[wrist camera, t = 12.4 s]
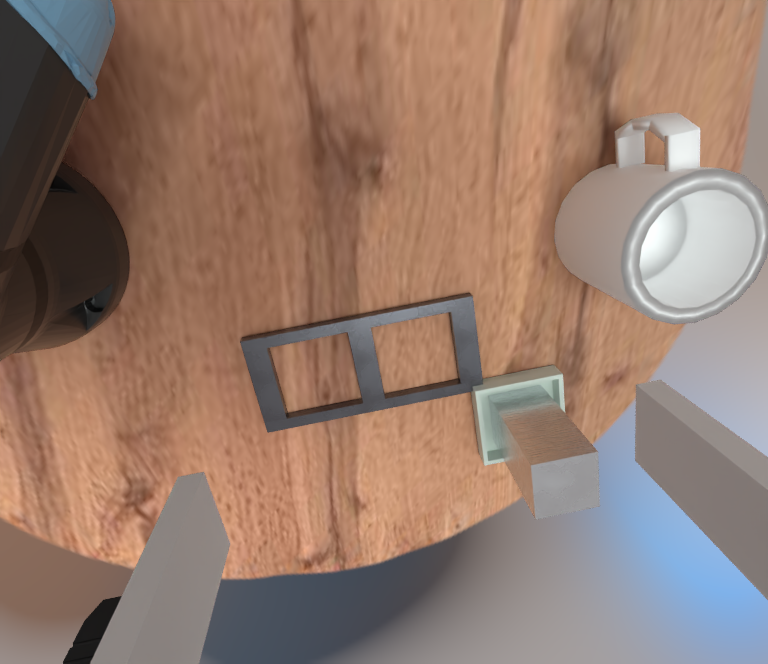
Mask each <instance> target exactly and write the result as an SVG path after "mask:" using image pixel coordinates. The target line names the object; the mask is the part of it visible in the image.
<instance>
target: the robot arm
mask: <svg viewBox="0 0 768 664" xmlns="http://www.w3.org/2000/svg"><path fill="white" fill-rule="evenodd" d="M114 30H115V12H114V8H113V4H112V2H111V0H0V361H1V360H3V359H4V358H6V357H7V356H9V355H10V354H12V353H20V352H27V351H35V350H42V349H49V348H54V347H58V346H61V345H64V344H67V343H69V342H72V341H74V340H76V339H78V338H80V337H82V336H84V335H85V334H87V333H88V332H90V331H91V330H92V329H94V328H95V327H97V326H98V325H99V324H101V323H102V322H103V321H104V320H105V319H106V318H107V317H108V316H109V315H110V314H111V313H112V312H113V311H114V309H115V308H116V307H117V305H118V303H119V302H120V300H121V298H122V296H123V293H124V291H125V288H126V284H127V280H128V274H129V255H128V248H127V243H126V239H125V236H124V233H123V230H122V228H121V225H120V223H119V221H118V219H117V217H116V215H115V213H114V212H113V210H112V208H111V207H110V205H109V204H108V203H107V201H106V200H105V199H104V197H103V196H102V195H101V194H100V193H99V191H98V190H97V189H96V188H95V187H94V186H93V185H92V184H91V183H90V182H88V181H87V180H86V179H85V178H84V177H83V176H81V175H80V174H79V173H77V172H76V171H75V170H73V169H72V168H70V167H68V166H67V165H65V164H63V163H62V162H61V161H62V159H63V157H64V154H65V152H66V150H67V147H68V145H69V143H70V140H71V138H72V136H73V133H74V131H75V129H76V126H77V124H78V122H79V119H80V117H81V115H82V112H83V110H84V108H85V105H86V103H87V101H88V99H89V98H90V99H92V100H94V99H95V97H96V94H97V90H98V89H97V86H96V84H95V83H96V80H97V77H98V74H99V72H100V69H101V66H102V64H103V61H104V58H105V56H106V53H107V50H108V48H109V45H110V42H111V39H112V37H113V34H114ZM635 438H636V439H635V461H636V462H637V463H638V464H639V465H640V466H641V467H642V468H643V469H644V470H645V471H646V472H647V473H648V474H649V476H650V477H651V478H652V479H653V480H654V481H655V482H656V483H657V484H658V485H659V486H660V487H661V488H662V489H663V490H664V491H665V492H666V493H667V494H668V495H669V496H670V498H671V499H672V500H673V501H674V502H675V503H676V504H677V505H678V506H679V507H680V508H681V509H682V510H683V511H684V512H685V513H686V514H687V515H688V516H689V518H690V519H691V520H692V521H693V522H694V523H695V524H696V525H697V526H698V527H699V528H700V529H701V530H702V531H703V532H704V533H705V534H706V535H707V536H708V538H710V540H711V541H712V542H713V543H714V544H715V545H716V546H717V547H718V548H719V549H720V550H721V551H722V552H723V553H724V554H725V555H726V557H728V559H729V560H730V561H731V562H732V563H733V564H734V565H735V566H736V567H737V568H738V569H739V570H740V571H741V572H742V573H743V574H744V575H745V577H746V578H747V579H748V580H749V581H750V582H751V583H752V584H753V585H754V586H755V587H756V588H757V589H758V590H759V591H760V592H761V593H762V594H763V595H764V596H765V598H766V599H767V600H768V457H767V456H765V455H764V454H763V453H761V452H760V451H758V450H757V449H756V448H754V447H753V446H752V445H750V444H749V443H747V442H746V441H745V440H743V439H742V438H740V437H739V436H737V435H736V434H735V433H733V432H732V431H731V430H729V429H728V428H727V427H725V426H724V425H722V424H721V423H720V422H718V421H717V420H715V419H714V418H713V417H711V416H710V415H709V414H707V413H706V412H704V411H703V410H702V409H700V408H699V407H698V406H696V405H695V404H693V403H692V402H691V401H689V400H688V399H687V398H685V397H684V396H682V395H681V394H680V393H678V392H677V391H675V390H674V389H673V388H671V387H670V386H669V385H667V384H666V383H664V382H663V381H662V380H657V381H652V382H647V383H642V384H637V385H636V435H635ZM229 546H230V542H229V539H228V536H227V534H226V531H225V528H224V525H223V523H222V520H221V517H220V514H219V512H218V509H217V506H216V504H215V501H214V498H213V495H212V493H211V490H210V487H209V485H208V482H207V479H206V476H205V474H204V472H201V473H196V474H191V475H186V476H181V477H178V478H177V480H176V483H175V485H174V487H173V489H172V491H171V493H170V495H169V497H168V500H167V502H166V504H165V506H164V508H163V510H162V512H161V514H160V516H159V519H158V521H157V523H156V525H155V527H154V529H153V531H152V533H151V536H150V538H149V540H148V542H147V544H146V546H145V548H144V550H143V553H142V555H141V557H140V559H139V561H138V563H137V565H136V567H135V570H134V572H133V574H132V576H131V578H130V580H129V582H128V584H127V587H126V589H125V591H124V593H123V595H122V596H120V597H115V598H110V599H105V600H103V601H102V602H101V603H100V604H99V606H97V608H96V609H95V610H94V611H93V612H92V613H91V614H90V615H89V616H88V618H87V619H86V620H85V621H84V623H83V625H82V627H81V629H80V630H79V633H78V634H77V636H76V638H75V640H74V642H73V647H72V648H70V650H69V651H68V654H67V655H66V657H65V659H64V661H63V664H199V661H200V657H201V653H202V649H203V646H204V642H205V638H206V634H207V630H208V626H209V623H210V619H211V615H212V611H213V607H214V604H215V600H216V596H217V592H218V588H219V584H220V581H221V577H222V573H223V569H224V565H225V562H226V558H227V554H228V550H229Z"/></svg>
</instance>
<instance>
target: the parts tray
mask: <svg viewBox="0 0 768 664" xmlns="http://www.w3.org/2000/svg"><path fill="white" fill-rule="evenodd" d="M536 385H542V387H543V388H544V389H545V390H546V391H547V392H548V394H549V395H550V396H551V397H552V398H553V400H554V401H555V402H556V403H557V404H558V405H559V407H560V408H561V409H562V410H563V411H564V412H565V405H564V387H563V374H562V373H561V372H560V371H559V370H558V369H557V368H556V367H555V366H554V365H550V366H545V367H540V368H535V369H530V370H525V371H520V372H515V373H510V374H505V375H500V376H495V377H490V378H485V379H483V384H482V385H477V386H472V387H473V391H472V392H471V396H472V404H473V411H474V419H475V427H476V434H477V442H478V450H479V455H480V457H481V459H482V461H483V463H484V466H485V465H490V464H495V463H500V462H504V459H503V457H502V456H501V454H500V452H499V450H498V448H497V446H496V444H495V442H494V440H493V432H492V423H491V415H490V406H489V397H488V395H491V394H496V393H501V392H506V391H511V390H516V389H521V388H526V387H531V386H536Z"/></svg>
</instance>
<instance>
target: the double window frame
mask: <svg viewBox="0 0 768 664" xmlns="http://www.w3.org/2000/svg"><path fill="white" fill-rule="evenodd" d="M447 312H449V314H450V321H451V329H452V336H453V343H454V350H455V358H456V365H457V372H458V379H456V380H451V381H446V382H441V383H436V384H431V385H426V386H421V387H416V388H411V389H406V390H401V391H396V392H391V393H386V394H384V391H383V386H382V381H381V376H380V371H379V366H378V361H377V356H376V351H375V346H374V341H373V336H372V331H371V327H376V326H381V325H386V324H391V323H396V322H401V321H406V320H411V319H416V318H421V317H426V316H431V315H437V314H442V313H447ZM346 332H348V336H349V340H350V345H351V350H352V354H353V359H354V363H355V368H356V372H357V377H358V382H359V386H360V391H361V395H362V398H361V399H356V400H351V401H346V402H341V403H336V404H331V405H326V406H321V407H316V408H311V409H306V410H301V411H296V412H291V413H288V412H287V409H286V405H285V402H284V398H283V394H282V391H281V387H280V384H279V380H278V377H277V373H276V370H275V366H274V363H273V359H272V355H271V352H270V347H275V346H280V345H285V344H290V343H295V342H300V341H305V340H310V339H315V338H320V337H325V336H330V335H335V334H340V333H346ZM240 343H241V346H242V350H243V353H244V356H245V359H246V363H247V366H248V369H249V373H250V376H251V379H252V383H253V386H254V389H255V392H256V396H257V399H258V402H259V406H260V409H261V412H262V415H263V419H264V422H265V425H266V429H267V432H273V431H278V430H283V429H288V428H293V427H298V426H303V425H308V424H313V423H318V422H323V421H328V420H333V419H338V418H343V417H348V416H353V415H358V414H363V413H368V412H373V411H378V410H383V409H388V408H393V407H397V406H402V405H407V404H412V403H417V402H422V401H427V400H432V399H437V398H442V397H447V396H452V395H457V394H462V393H467V392H472V391H473V387H472V386H477V385H482V384H483V379H482V371H481V362H480V354H479V345H478V337H477V328H476V320H475V312H474V303H473V296H472V295H471V294H470V293H466V294H461V295H456V296H451V297H446V298H441V299H436V300H431V301H426V302H421V303H416V304H411V305H406V306H401V307H395V308H390V309H385V310H380V311H375V312H370V313H365V314H360V315H355V316H350V317H345V318H340V319H335V320H330V321H324V322H319V323H314V324H309V325H304V326H299V327H294V328H289V329H284V330H279V331H274V332H269V333H264V334H259V335H253V336H248V337H243V338H242V339H241V341H240Z"/></svg>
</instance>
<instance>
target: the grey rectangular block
mask: <svg viewBox="0 0 768 664" xmlns="http://www.w3.org/2000/svg"><path fill="white" fill-rule="evenodd" d="M488 397H489V406H490V415H491V423H492V432H493V440H494V442H495V444H496V446H497V448H498V450H499V452H500V454H501V456H502V457H503V459H504V461H505V463H506V465H507V467H508V469H509V471H510V472H511V474H512V476H513V478H514V480H515V482H516V484H517V486H518V488H519V489H520V491H521V493H522V495H523V497H524V499H525V501H526V503H527V504H528V506H529V508H530V510H531V512H532V514H533V516H534V517H535V519H541V518H545V517H551V516H556V515H560V514H565V513H570V512H575V511H580V510H585V509H590V508H594V507H599V506H600V505H599V472H598V471H599V470H598V451H597V450H596V449H595V448H594V446H593V445H592V444H591V443H590V442H589V441H588V439H587V438H586V437H585V436H584V435H583V434H582V432H581V431H580V430H579V429H578V428H577V426H576V425H575V424H574V423H573V422H572V421H571V419H570V418H569V417H568V416H567V415H566V414H565V412H564V411H563V410H562V409H561V408H560V407H559V405H558V404H557V403H556V402H555V401H554V400H553V398H552V397H551V396H550V395H549V394H548V392H547V391H546V390H545V389H544V388H543V387H542V385H536V386H531V387H526V388H521V389H516V390H511V391H506V392H501V393H496V394H491V395H488Z"/></svg>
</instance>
